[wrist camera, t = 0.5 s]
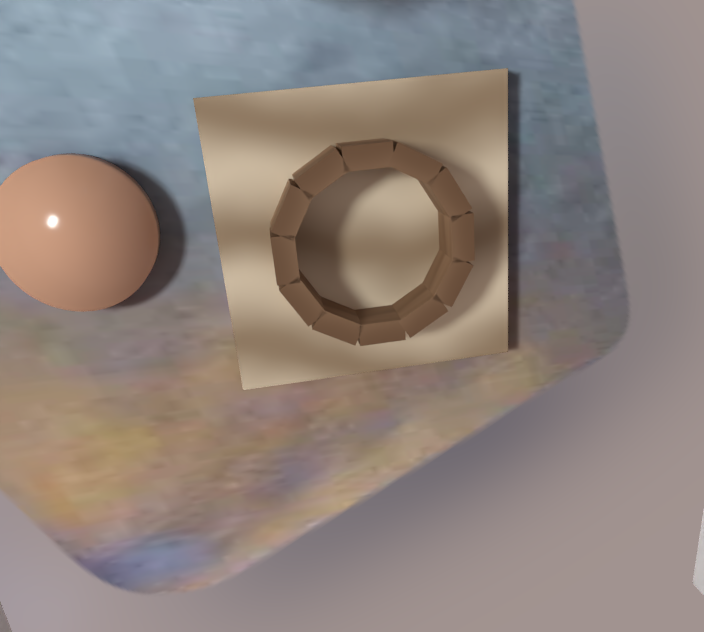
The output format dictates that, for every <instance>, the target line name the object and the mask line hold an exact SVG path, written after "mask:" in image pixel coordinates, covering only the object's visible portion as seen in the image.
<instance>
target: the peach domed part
mask: <svg viewBox="0 0 704 632" xmlns="http://www.w3.org/2000/svg"><path fill="white" fill-rule="evenodd" d="M159 246H160V228H159V221H158V218H157V214H156V211H155V209H154V207H153V204H152V202H151V201H150V199H149V197H148V195H147V194H146V192H145V191H144V190H143V189H142V187H141V186H140V185H139V184H138V183H137V182H136V181H135V180H134V179H133V178H132V177H131V176H130V175H129V174H127V173H126V172H125V171H124V170H122V169H120V168H119V167H117V166H116V165H114V164H112V163H110V162H108V161H106V160H103V159H100V158H97V157H94V156H89V155H85V154H75V153H67V154H57V155H52V156H48V157H45V158H42V159H39V160H35V161H32V162H30V163H28V164H26V165H24V166H22V167H20V168H19V169H17V170H16V171H15V172H13V173H12V174H11V175H10V176H9V177H8V178H7V179H6V180H5V181H4V182H3V184H2V185H1V186H0V266H1V267H2V269H3V270H4V271H5V273H6V274H7V276H8V277H9V278H10V279H11V280H12V281H13V282H14V283H15V284H16V285H17V286H18V287H19V288H20V289H22V290H23V291H24V292H26V293H27V294H28V295H30V296H31V297H33V298H35V299H37V300H39V301H40V302H42V303H45V304H47V305H50V306H52V307H56V308H60V309H64V310H70V311H95V310H100V309H105V308H108V307H111V306H114V305H116V304H118V303H120V302H122V301H123V300H125V299H127V298H128V297H130V296H131V295H132V294H133V293H134V292H135V291H137V290H138V288H139V287H140V286H141V285H142V284H143V283H144V281H145V279H146V278H147V276H148V275H149V273H150V271H151V270H152V268H153V266H154V264H155V262H156V259H157V256H158V252H159Z"/></svg>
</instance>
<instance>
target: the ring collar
mask: <svg viewBox="0 0 704 632" xmlns="http://www.w3.org/2000/svg"><path fill="white" fill-rule="evenodd" d="M193 100H194V106H195V111H196V117H197V123H198V129H199V135H200V141H201V146H202V152H203V158H204V164H205V170H206V176H207V181H208V187H209V193H210V199H211V205H212V211H213V216H214V222H215V228H216V234H217V240H218V246H219V251H220V257H221V263H222V269H223V275H224V281H225V287H226V292H227V298H228V304H229V310H230V316H231V322H232V327H233V333H234V339H235V345H236V351H237V357H238V362H239V368H240V374H241V380H242V386H243V390H247V389H254V388H261V387H268V386H275V385H282V384H289V383H296V382H303V381H310V380H317V379H323V378H330V377H337V376H344V375H351V374H358V373H365V372H372V371H379V370H386V369H393V368H400V367H407V366H414V365H420V364H427V363H434V362H441V361H448V360H455V359H462V358H469V357H476V356H483V355H490V354H497V353H504V352H508V68H506V69H495V70H485V71H474V72H464V73H454V74H443V75H433V76H422V77H412V78H401V79H391V80H380V81H370V82H359V83H349V84H338V85H328V86H317V87H307V88H296V89H286V90H275V91H265V92H254V93H244V94H233V95H223V96H212V97H202V98H193Z"/></svg>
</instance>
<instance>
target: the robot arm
mask: <svg viewBox="0 0 704 632" xmlns="http://www.w3.org/2000/svg"><path fill="white" fill-rule="evenodd" d="M693 584H694V585H695V586H696V587H697V588H698V590H699V591H700V592H701V593H702V594H703V595H704V511H703V517H702V524H701V530H700V537H699V544H698V550H697V557H696V564H695V571H694V577H693ZM0 632H12V631H11V628H10V625H9V623H8V620H7V618H6V615H5V613H4V610H3V608H2V605H1V602H0Z"/></svg>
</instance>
